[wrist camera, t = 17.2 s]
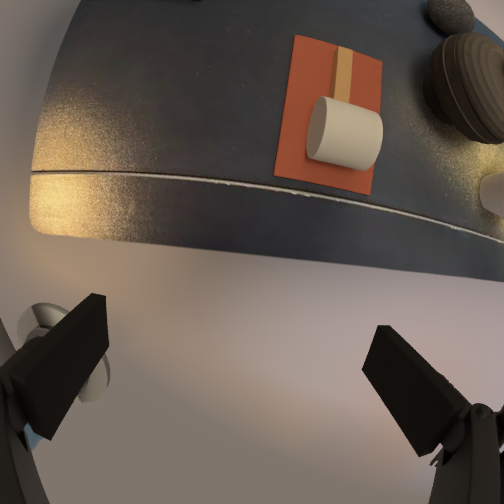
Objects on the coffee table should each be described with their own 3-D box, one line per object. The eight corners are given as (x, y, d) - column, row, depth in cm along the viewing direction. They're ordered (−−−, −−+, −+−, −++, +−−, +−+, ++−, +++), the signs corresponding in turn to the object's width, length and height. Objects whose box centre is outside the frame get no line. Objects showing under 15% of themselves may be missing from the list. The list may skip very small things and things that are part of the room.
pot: (454, 172, 37) (543, 163, 17) (387, 88, 35) (461, 31, 15) (487, 119, 35) (558, 100, 15) (431, 46, 33) (491, 1, 13)
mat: (367, 195, 38) (370, 195, 37) (272, 175, 36) (273, 175, 35) (380, 63, 33) (382, 61, 32) (294, 36, 31) (295, 34, 31)
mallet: (317, 47, 31) (335, 21, 24) (362, 61, 32) (386, 40, 24) (303, 161, 35) (321, 155, 27) (351, 172, 36) (378, 170, 28)
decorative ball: (450, 50, 32) (482, 35, 22) (412, 15, 30) (440, -6, 20) (458, 28, 30) (486, 13, 20) (423, -4, 28) (448, -24, 19)
